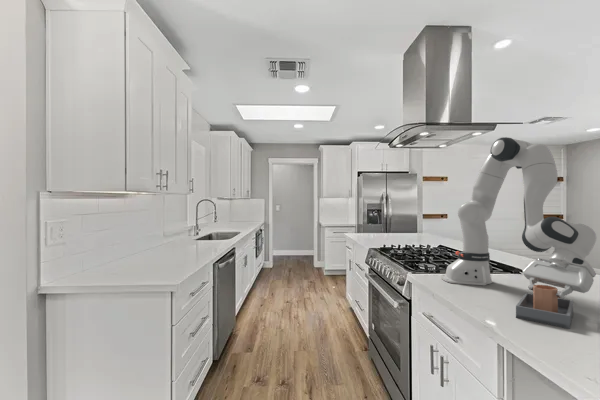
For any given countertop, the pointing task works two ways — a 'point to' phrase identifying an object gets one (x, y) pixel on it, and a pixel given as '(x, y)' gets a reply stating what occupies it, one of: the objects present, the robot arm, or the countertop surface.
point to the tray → (545, 312)
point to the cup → (545, 298)
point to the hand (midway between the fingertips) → (544, 293)
